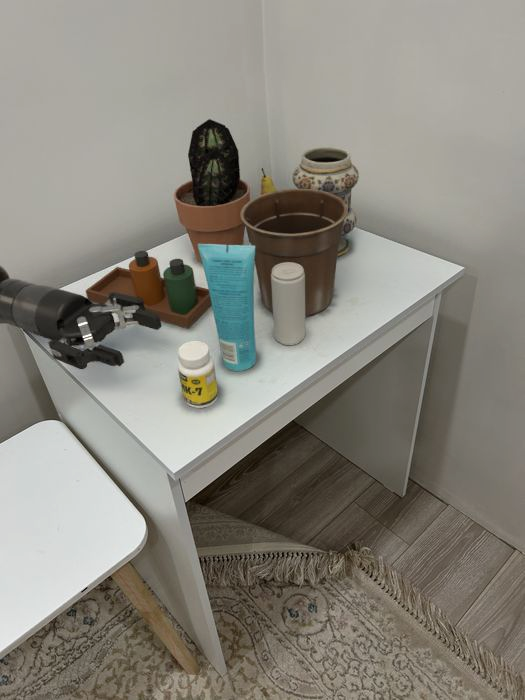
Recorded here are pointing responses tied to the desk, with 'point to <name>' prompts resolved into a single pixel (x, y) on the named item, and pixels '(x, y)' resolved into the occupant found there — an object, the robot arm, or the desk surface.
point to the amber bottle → (146, 278)
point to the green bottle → (180, 287)
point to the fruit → (267, 184)
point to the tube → (232, 300)
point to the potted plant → (213, 189)
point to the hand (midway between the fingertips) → (141, 340)
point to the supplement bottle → (197, 374)
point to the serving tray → (123, 284)
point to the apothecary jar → (330, 180)
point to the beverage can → (288, 302)
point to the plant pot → (296, 240)
